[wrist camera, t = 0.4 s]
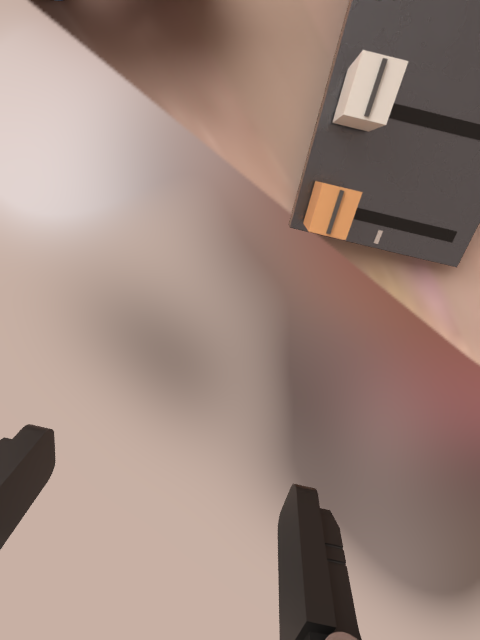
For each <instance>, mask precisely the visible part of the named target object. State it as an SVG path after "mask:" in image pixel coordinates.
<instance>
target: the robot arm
mask: <svg viewBox="0 0 480 640" xmlns="http://www.w3.org/2000/svg"><path fill="white" fill-rule="evenodd" d="M54 466H55V443H54V431H53V430H52V429H48V428H44V427H39V426H35V425H30V424H29V425H26V426H25V427H23V428H22V430H20V431H19V433H18V434H17V435H16V436H15V437H14V438H13V439H8V438H3V439H1V440H0V549H1V548H2V546H3V545H4V544H5V542H6V541H7V539H8V538H9V536H10V535H11V533H12V532H13V531H14V529H15V528H16V526H17V525H18V523H19V522H20V521H21V519H22V517H23V516H24V515H25V513H26V512H27V510H28V509H29V507H30V506H31V505H32V503H33V502H34V500H35V499H36V497H37V496H38V495H39V493H40V492H41V490H42V489H43V487H44V486H45V484H46V483H47V482H48V480H49V478H50V476H51V474H52V472H53V469H54ZM345 563H346V560H345V555H344V551H343V545H342V539H341V534H340V528H339V526H338V524H337V522H336V521H335V519H334V517H333V515H332V513H331V511H330V510H326V509H321V508H320V506H319V499H318V493H317V490H316V489H315V488H311V487H306V486H301V485H297V484H293V485H292V486H291V489H290V491H289V493H288V495H287V498H286V500H285V503H284V505H283V507H282V510H281V512H280V516H279V523H278V571H279V619H280V620H279V623H280V640H362V639H361V636H360V633H359V629H358V625H357V619H356V614H355V608H354V603H353V598H352V593H351V588H350V582H349V576H348V571H347V567H346V564H345Z"/></svg>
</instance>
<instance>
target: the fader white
mask: <svg viewBox="0 0 480 640" xmlns="http://www.w3.org/2000/svg"><path fill="white" fill-rule="evenodd" d="M407 64H408V61H406V60H402V59H398V58H394V57H390V56H386V55H382V54H378V53H374V52H370V51H366V50H362V52H361V53H360V54H359V55H358V57H357V58H356V59H355V61H354V62H353V63H352V64H351V66H350V67H349V68H348V70H347V74H346V77H345V81H344V84H343V88H342V91H341V94H340V98H339V101H338V105H337V108H336V112H335V115H334V119H333V122H332V123H335V124H340V125H344V126H348V127H352V128H356V129H360V130H364V131H368V132H369V131H371V130H374V129H377V128H379V127H382V126H385V125H386V124H387V121H388V118H389V115H390V113H391V110H392V107H393V104H394V101H395V98H396V95H397V93H398V90H399V87H400V84H401V81H402V78H403V76H404V73H405V70H406V67H407Z"/></svg>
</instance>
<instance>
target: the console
mask: <svg viewBox="0 0 480 640" xmlns="http://www.w3.org/2000/svg"><path fill="white" fill-rule="evenodd" d="M362 50H366V51H370V52H374V53H378V54H382V55H386V56H390V57H394V58H398V59H402V60H406V61H408V64H407V67H406V70H405V73H404V76H403V78H402V81H401V84H400V87H399V90H398V93H397V95H396V98H395V101H394V104H393V107H392V110H391V113H390V115H389V118H388V121H387V124H386V125H385V126H382V127H379V128H377V129H374V130H371V131H369V132H368V131H364V130H360V129H356V128H352V127H348V126H344V125H340V124H335V123H332V122H333V119H334V115H335V112H336V108H337V105H338V101H339V98H340V94H341V91H342V88H343V84H344V81H345V77H346V74H347V70H348V68H349V67H350V66H351V64H352V63H353V62H354V61H355V59H356V58H357V57H358V55H359V54H360V53H361V52H362ZM315 181H318V182H322V183H326V184H330V185H334V186H339V187H343V188H347V189H351V190H355V191H359V192H362V195H361V198H360V201H359V204H358V207H357V210H356V212H355V215H354V218H353V221H352V224H351V227H350V230H349V232H348V235H347V238H346V240H344V241H349V242H353V243H357V244H361V245H365V246H370V247H374V248H378V249H382V250H386V251H391V252H395V253H399V254H403V255H407V256H412V257H416V258H420V259H424V260H428V261H433V262H437V263H441V264H445V265H450V266H454V267H457V266H458V264H459V262H460V260H461V258H462V256H463V254H464V252H465V250H466V248H467V246H468V244H469V242H470V240H471V238H472V236H473V235H474V233H475V231H476V229H477V227H478V225H479V223H480V0H350V1H349V5H348V8H347V12H346V16H345V19H344V23H343V27H342V30H341V34H340V38H339V41H338V45H337V49H336V53H335V56H334V60H333V64H332V67H331V71H330V75H329V78H328V82H327V86H326V89H325V93H324V97H323V100H322V104H321V108H320V111H319V115H318V119H317V122H316V126H315V130H314V133H313V137H312V141H311V144H310V148H309V152H308V155H307V159H306V163H305V166H304V170H303V174H302V177H301V181H300V185H299V188H298V192H297V196H296V199H295V203H294V207H293V210H292V214H291V218H290V221H289V226H290V228H294V229H298V230H302V231H306V232H309V231H308V230H307V228H306V227H305V225H304V224H303V222H304V218H305V215H306V212H307V208H308V205H309V201H310V198H311V194H312V191H313V187H314V184H315ZM311 233H313V232H311ZM315 234H317V233H315ZM319 235H321V234H319ZM323 236H325V235H323ZM327 237H330V236H327ZM332 238H334V237H332ZM336 239H338V238H336ZM340 240H342V239H340Z"/></svg>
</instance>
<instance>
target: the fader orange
mask: <svg viewBox="0 0 480 640" xmlns="http://www.w3.org/2000/svg"><path fill="white" fill-rule="evenodd" d="M361 195H362V192H359V191H355V190H351V189H347V188H343V187H339V186H334V185H330V184H326V183H322V182H318V181H315V184H314V187H313V191H312V194H311V198H310V201H309V205H308V208H307V212H306V215H305V218H304V222H303V224H304V225H305V227H306V228H307V230H308V231H309V232H313V233H317V234H321V235H325V236H330V237H334V238H338V239H342V240H346V238H347V235H348V232H349V230H350V227H351V224H352V221H353V218H354V215H355V212H356V210H357V207H358V204H359V201H360V198H361Z"/></svg>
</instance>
